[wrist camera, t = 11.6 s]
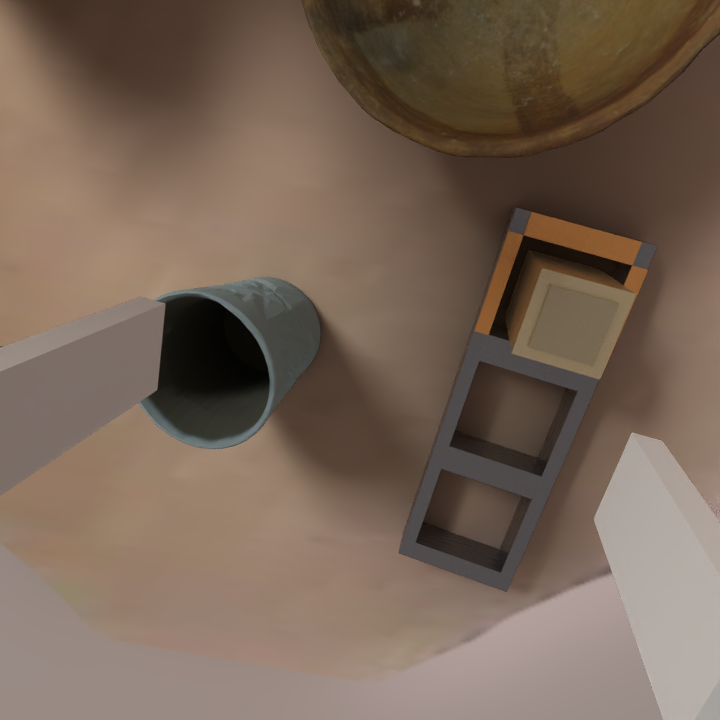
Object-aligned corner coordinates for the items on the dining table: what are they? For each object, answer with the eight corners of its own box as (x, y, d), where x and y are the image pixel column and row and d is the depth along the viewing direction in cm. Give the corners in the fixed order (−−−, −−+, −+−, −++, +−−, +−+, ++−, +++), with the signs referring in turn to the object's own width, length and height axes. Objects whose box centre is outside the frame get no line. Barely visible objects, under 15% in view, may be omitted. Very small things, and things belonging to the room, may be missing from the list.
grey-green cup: (324, 395, 46) (272, 462, 34) (210, 377, 47) (126, 435, 36) (332, 272, 42) (278, 302, 31) (210, 258, 44) (117, 281, 33)
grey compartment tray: (513, 206, 38) (516, 207, 35) (644, 242, 37) (658, 246, 34) (403, 531, 48) (398, 554, 45) (505, 567, 47) (506, 593, 44)
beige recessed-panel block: (527, 249, 39) (542, 269, 29) (598, 268, 38) (638, 295, 29) (504, 316, 41) (511, 355, 31) (572, 335, 40) (601, 382, 30)
